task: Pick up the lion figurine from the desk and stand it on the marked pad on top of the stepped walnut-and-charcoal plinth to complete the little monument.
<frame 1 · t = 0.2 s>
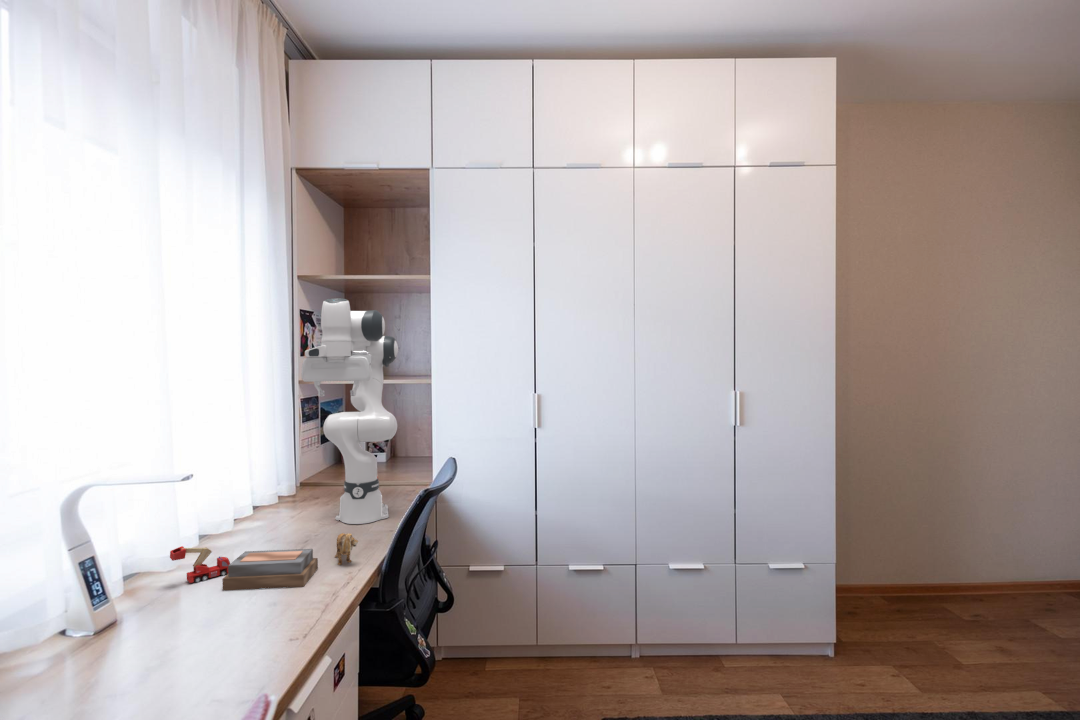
hand: (337, 396, 169), 47 cm above the table, tool pointing down, fingers open, 8 cm apart
plinth: (272, 578, 148), on the table
lion figurine: (345, 560, 162), on the table
toy fire truck: (201, 580, 148), on the table
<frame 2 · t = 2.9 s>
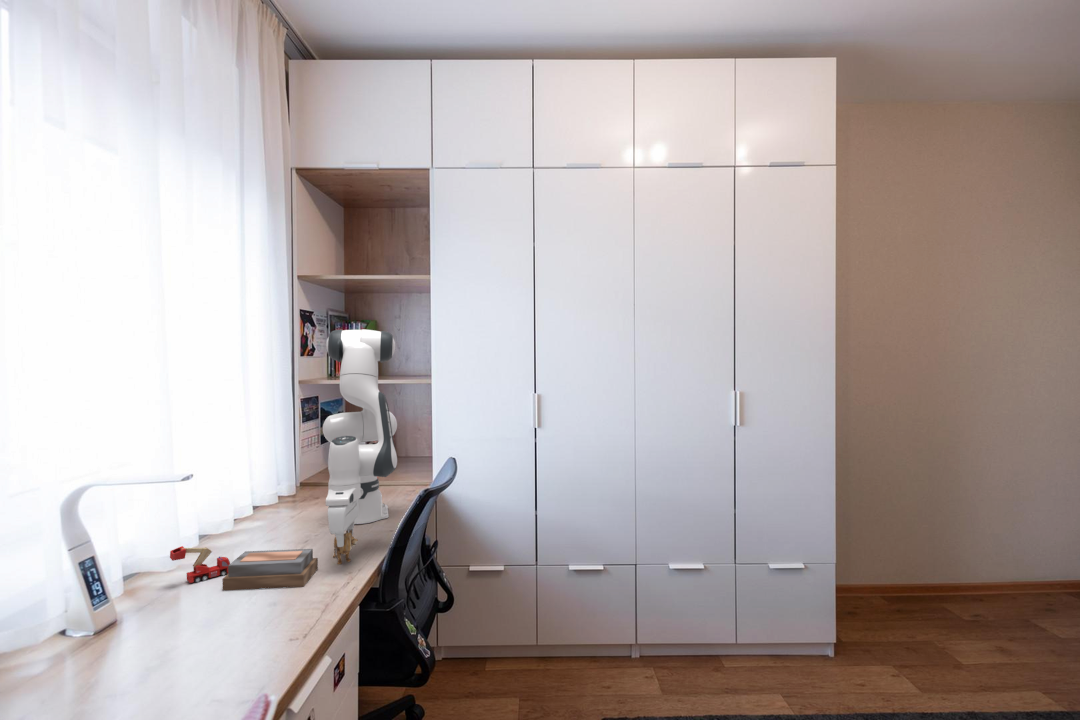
hand: (345, 540, 160), 6 cm above the table, tool pointing down, fingers open, 8 cm apart
lion figurine: (343, 559, 162), on the table, touching gripper
everything else where it was.
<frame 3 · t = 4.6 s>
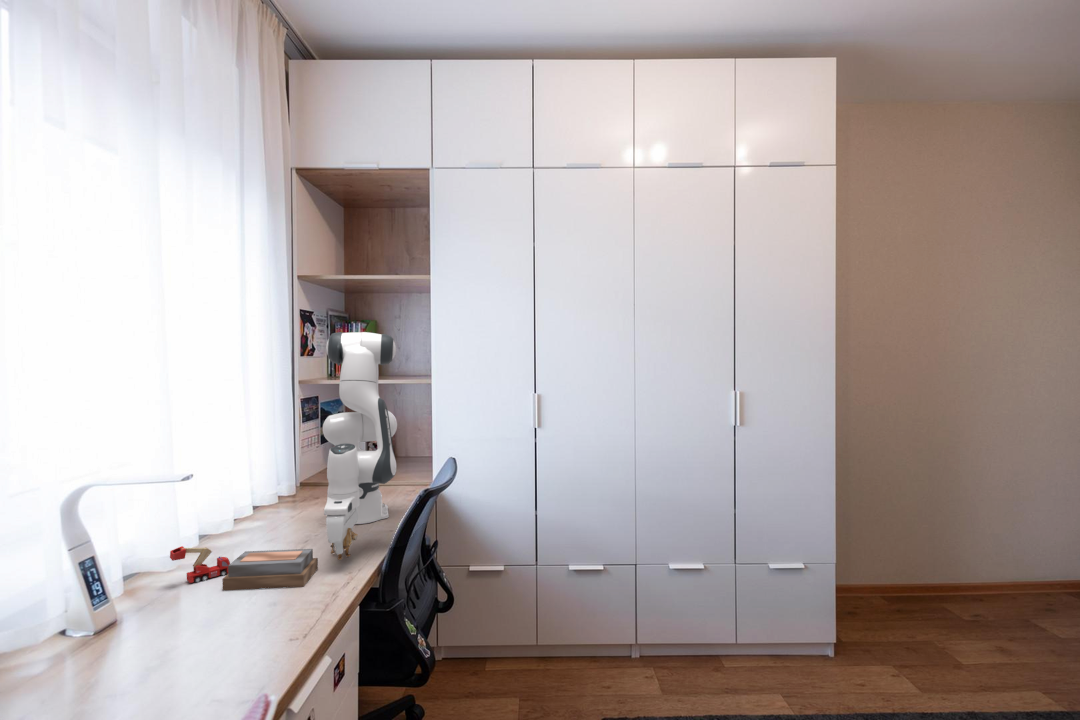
hand: (344, 547, 162), 3 cm above the table, tool pointing down, fingers closed on lion figurine, 8 cm apart
lion figurine: (342, 555, 163), point 1 cm above the table, touching gripper
everything else where it was.
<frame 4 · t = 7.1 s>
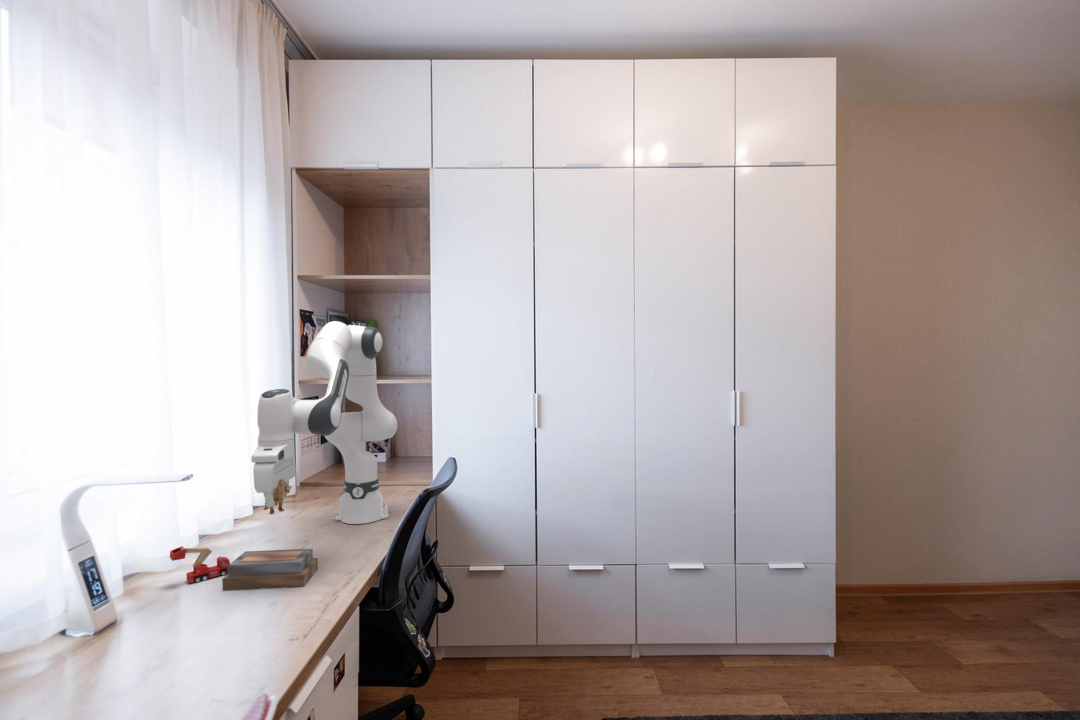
hand: (277, 501, 148), 21 cm above the table, tool pointing down, fingers closed on lion figurine, 8 cm apart
lion figurine: (276, 510, 150), point 18 cm above the table, touching gripper
everything else where it was.
when the fingers open (10 cm above the table, at t = 9.4 s): lion figurine moves 1 cm, resting on plinth.
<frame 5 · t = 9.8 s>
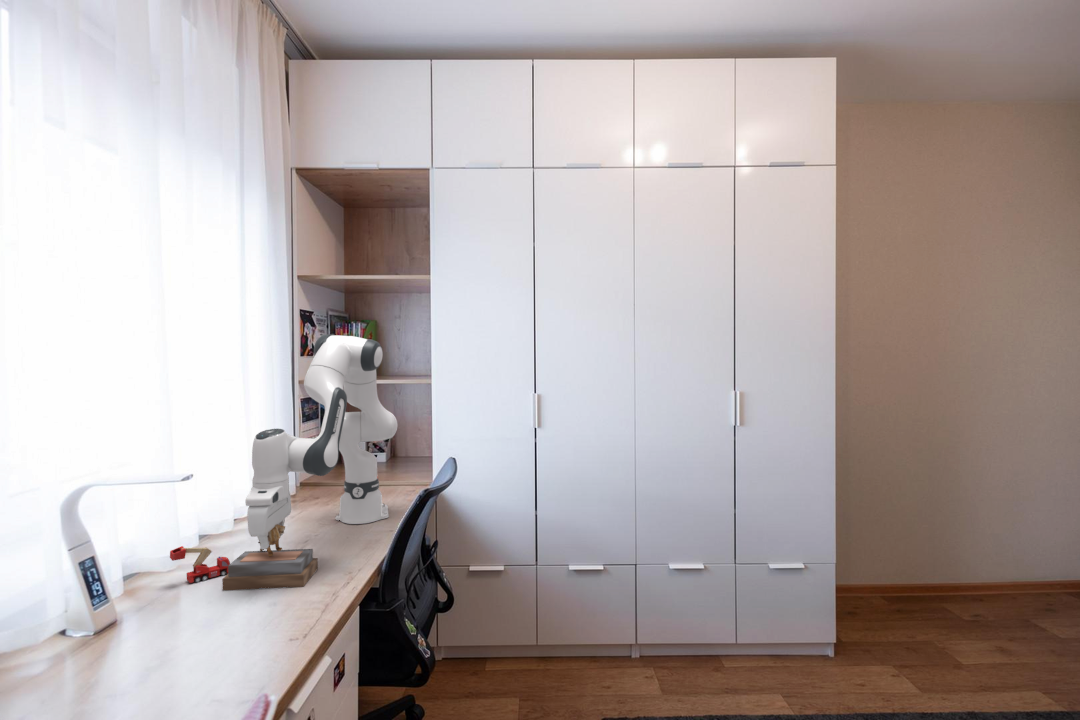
hand: (272, 542, 148), 10 cm above the table, tool pointing down, fingers open, 8 cm apart
lion figurine: (273, 549, 151), point 7 cm above the table, touching gripper, plinth
everything else where it was.
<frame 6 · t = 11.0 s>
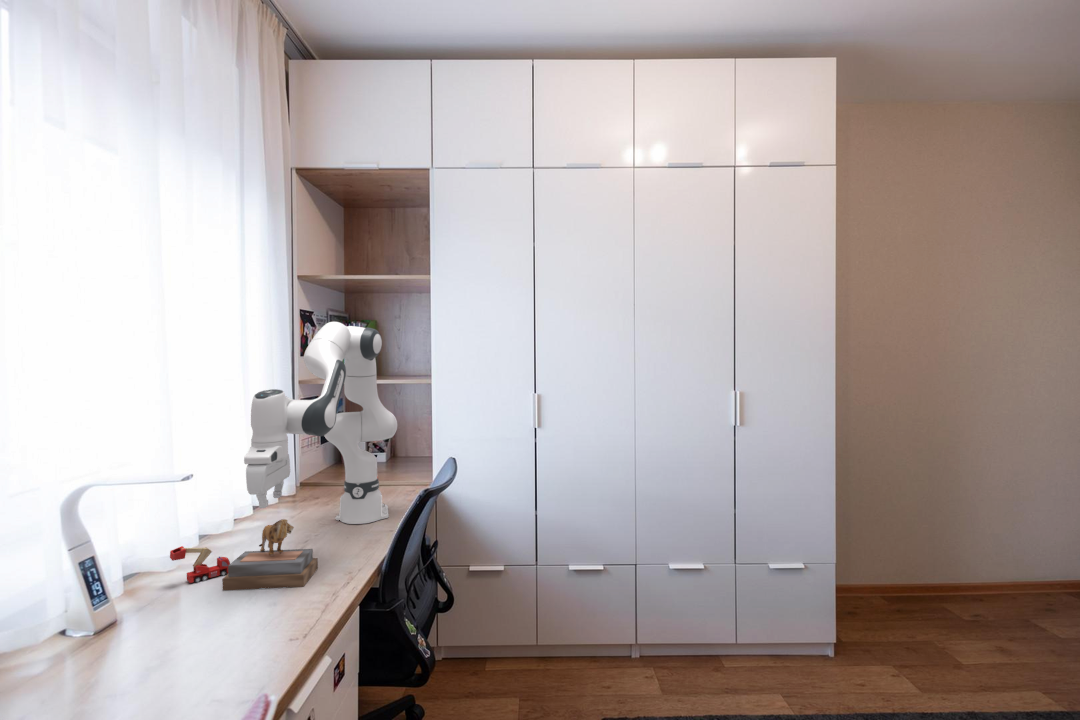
hand: (270, 502, 148), 21 cm above the table, tool pointing down, fingers open, 8 cm apart
lion figurine: (273, 552, 151), point 6 cm above the table, touching plinth
everything else where it was.
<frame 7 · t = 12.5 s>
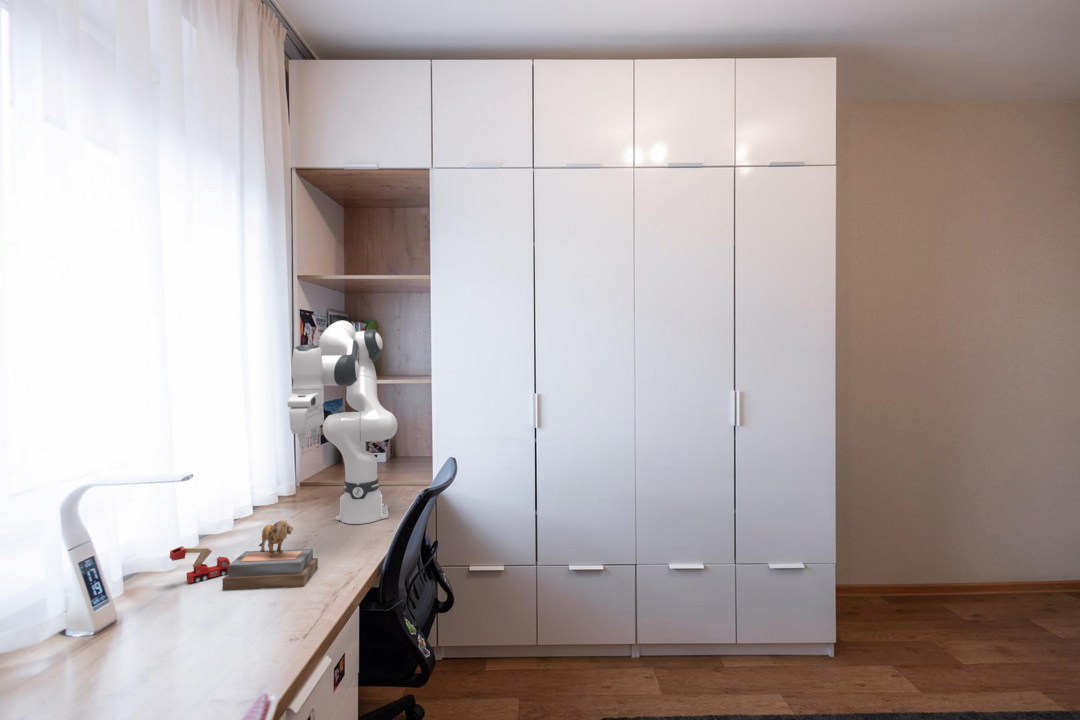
hand: (308, 444, 167), 33 cm above the table, tool pointing down, fingers open, 8 cm apart
nothing on the table moved.
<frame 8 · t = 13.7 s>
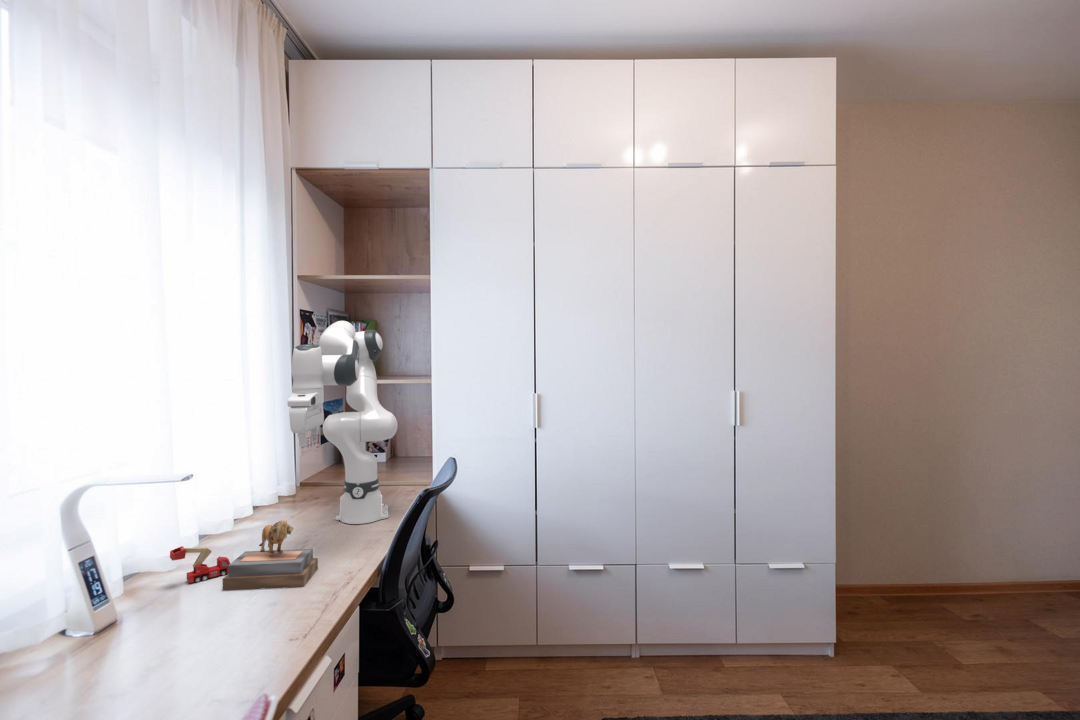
hand: (308, 443, 167), 33 cm above the table, tool pointing down, fingers open, 8 cm apart
nothing on the table moved.
at the end: lion figurine inside the target area on the plinth (3.5 cm from its centre), point 6.0 cm above the plinth's base; lion figurine tilted 6°; the gripper is holding nothing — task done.
